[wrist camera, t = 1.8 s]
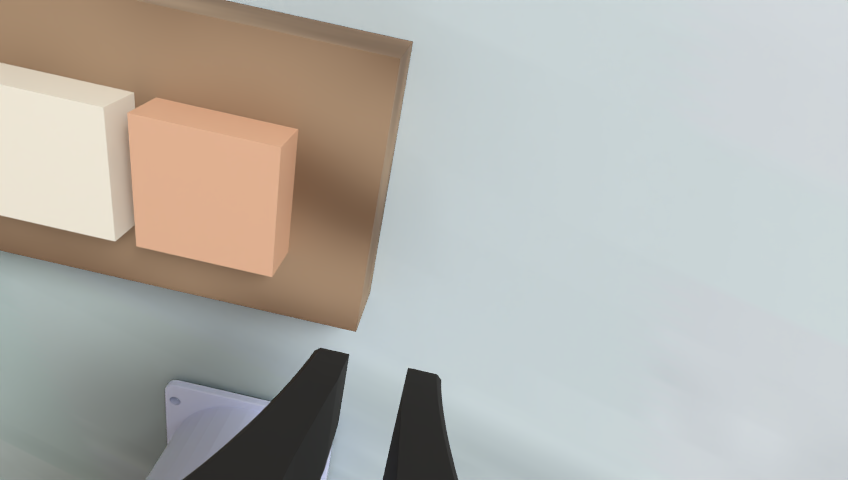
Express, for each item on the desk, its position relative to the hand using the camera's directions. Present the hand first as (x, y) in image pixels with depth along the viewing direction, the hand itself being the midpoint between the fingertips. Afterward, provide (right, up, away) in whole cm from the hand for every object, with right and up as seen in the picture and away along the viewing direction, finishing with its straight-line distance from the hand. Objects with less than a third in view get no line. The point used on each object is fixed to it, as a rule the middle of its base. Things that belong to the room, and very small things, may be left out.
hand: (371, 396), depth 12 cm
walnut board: (-7, +7, +9) cm, 14 cm away
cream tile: (-10, +6, +7) cm, 14 cm away
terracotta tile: (-5, +5, +7) cm, 10 cm away
